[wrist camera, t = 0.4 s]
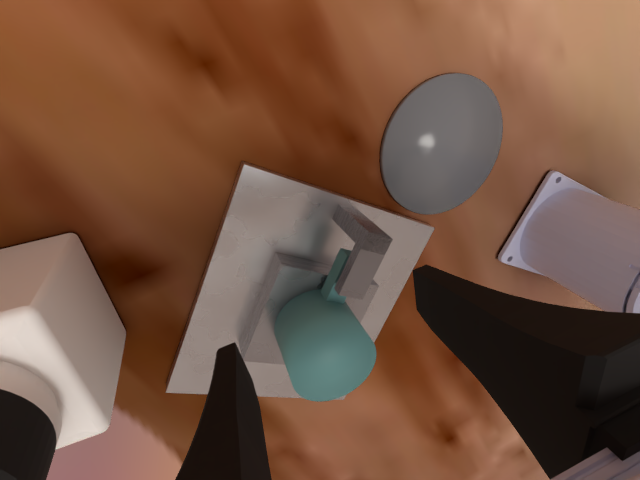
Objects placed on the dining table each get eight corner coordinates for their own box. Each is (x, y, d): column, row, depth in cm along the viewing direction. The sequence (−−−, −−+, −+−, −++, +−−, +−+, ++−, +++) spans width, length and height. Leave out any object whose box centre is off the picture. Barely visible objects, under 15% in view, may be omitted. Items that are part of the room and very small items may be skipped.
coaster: (520, 107, 25) (525, 108, 25) (455, 225, 28) (459, 227, 27) (422, 46, 21) (426, 45, 21) (357, 191, 24) (359, 193, 23)
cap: (380, 256, 23) (414, 290, 20) (330, 356, 26) (354, 402, 22) (310, 238, 21) (336, 273, 18) (263, 350, 23) (277, 400, 20)
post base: (428, 223, 27) (475, 255, 22) (340, 392, 31) (365, 444, 27) (241, 160, 20) (258, 188, 16) (166, 383, 25) (163, 450, 21)
